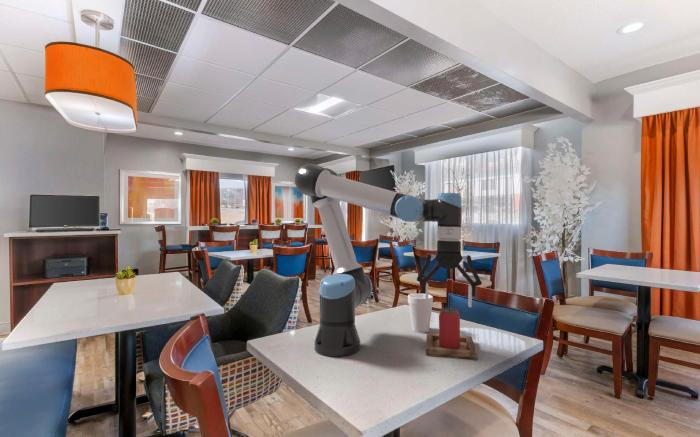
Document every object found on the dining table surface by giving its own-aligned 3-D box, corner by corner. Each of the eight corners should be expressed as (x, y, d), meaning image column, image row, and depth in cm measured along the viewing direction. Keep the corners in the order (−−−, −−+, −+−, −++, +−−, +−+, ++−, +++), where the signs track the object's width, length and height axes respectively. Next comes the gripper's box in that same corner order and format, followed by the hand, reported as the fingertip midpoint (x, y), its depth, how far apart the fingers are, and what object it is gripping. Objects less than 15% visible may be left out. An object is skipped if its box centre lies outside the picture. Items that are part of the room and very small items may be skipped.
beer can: (462, 345, 108) (462, 308, 108) (457, 352, 102) (456, 313, 102) (442, 341, 111) (442, 306, 112) (436, 347, 106) (436, 310, 106)
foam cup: (438, 332, 123) (437, 297, 123) (417, 335, 120) (416, 299, 120) (423, 324, 132) (423, 292, 132) (403, 327, 128) (403, 294, 129)
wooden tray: (425, 355, 101) (425, 348, 101) (426, 337, 117) (426, 331, 117) (477, 360, 98) (477, 353, 98) (471, 340, 114) (470, 334, 114)
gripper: (409, 239, 107) (408, 304, 107) (491, 241, 101) (490, 310, 100) (411, 238, 114) (410, 299, 114) (487, 240, 108) (486, 304, 108)
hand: (447, 304), depth 107 cm, fingers open, 13 cm apart
